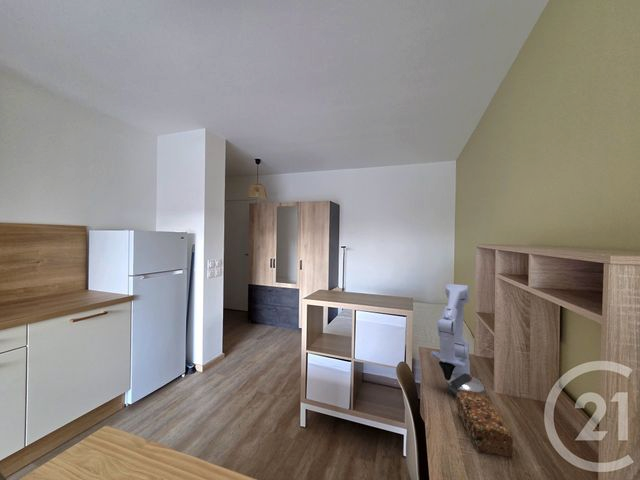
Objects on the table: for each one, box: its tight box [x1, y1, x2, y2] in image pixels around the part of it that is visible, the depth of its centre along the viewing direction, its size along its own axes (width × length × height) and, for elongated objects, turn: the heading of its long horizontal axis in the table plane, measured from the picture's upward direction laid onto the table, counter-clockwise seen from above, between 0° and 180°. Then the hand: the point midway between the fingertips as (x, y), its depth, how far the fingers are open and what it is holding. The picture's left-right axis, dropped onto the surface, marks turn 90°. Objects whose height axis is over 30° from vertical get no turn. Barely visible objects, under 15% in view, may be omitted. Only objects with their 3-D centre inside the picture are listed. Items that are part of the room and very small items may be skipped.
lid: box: [445, 373, 485, 393], centre depth 105 cm, size 16×14×3 cm
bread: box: [455, 391, 514, 458], centre depth 83 cm, size 19×11×10 cm, turn 167°
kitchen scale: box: [446, 382, 484, 399], centre depth 103 cm, size 18×14×4 cm
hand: (447, 379), depth 105 cm, fingers closed
